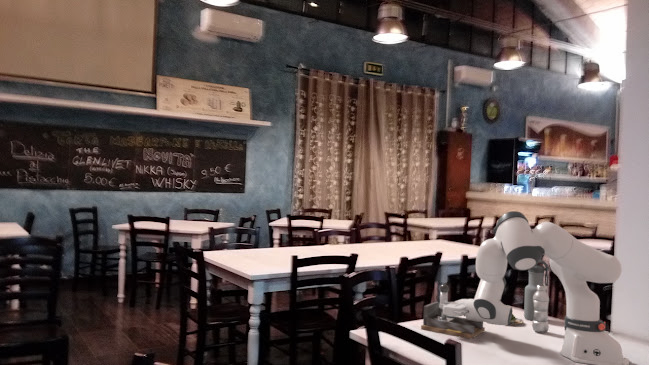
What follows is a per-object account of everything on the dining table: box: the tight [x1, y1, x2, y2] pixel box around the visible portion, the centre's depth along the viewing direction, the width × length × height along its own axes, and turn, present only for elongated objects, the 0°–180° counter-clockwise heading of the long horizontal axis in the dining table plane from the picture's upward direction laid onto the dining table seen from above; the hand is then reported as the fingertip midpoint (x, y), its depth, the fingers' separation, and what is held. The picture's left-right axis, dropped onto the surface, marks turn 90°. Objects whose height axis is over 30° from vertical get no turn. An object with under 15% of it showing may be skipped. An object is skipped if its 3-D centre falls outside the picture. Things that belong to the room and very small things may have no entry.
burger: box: [508, 313, 524, 325], centre depth 247 cm, size 12×12×8 cm
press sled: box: [434, 283, 454, 322], centre depth 234 cm, size 7×8×17 cm
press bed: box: [420, 301, 486, 340], centre depth 232 cm, size 22×16×10 cm
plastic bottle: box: [532, 284, 550, 334], centre depth 233 cm, size 6×7×20 cm
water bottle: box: [523, 259, 550, 322], centre depth 256 cm, size 10×10×28 cm
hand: (441, 304), depth 235 cm, fingers closed on press sled, 3 cm apart
